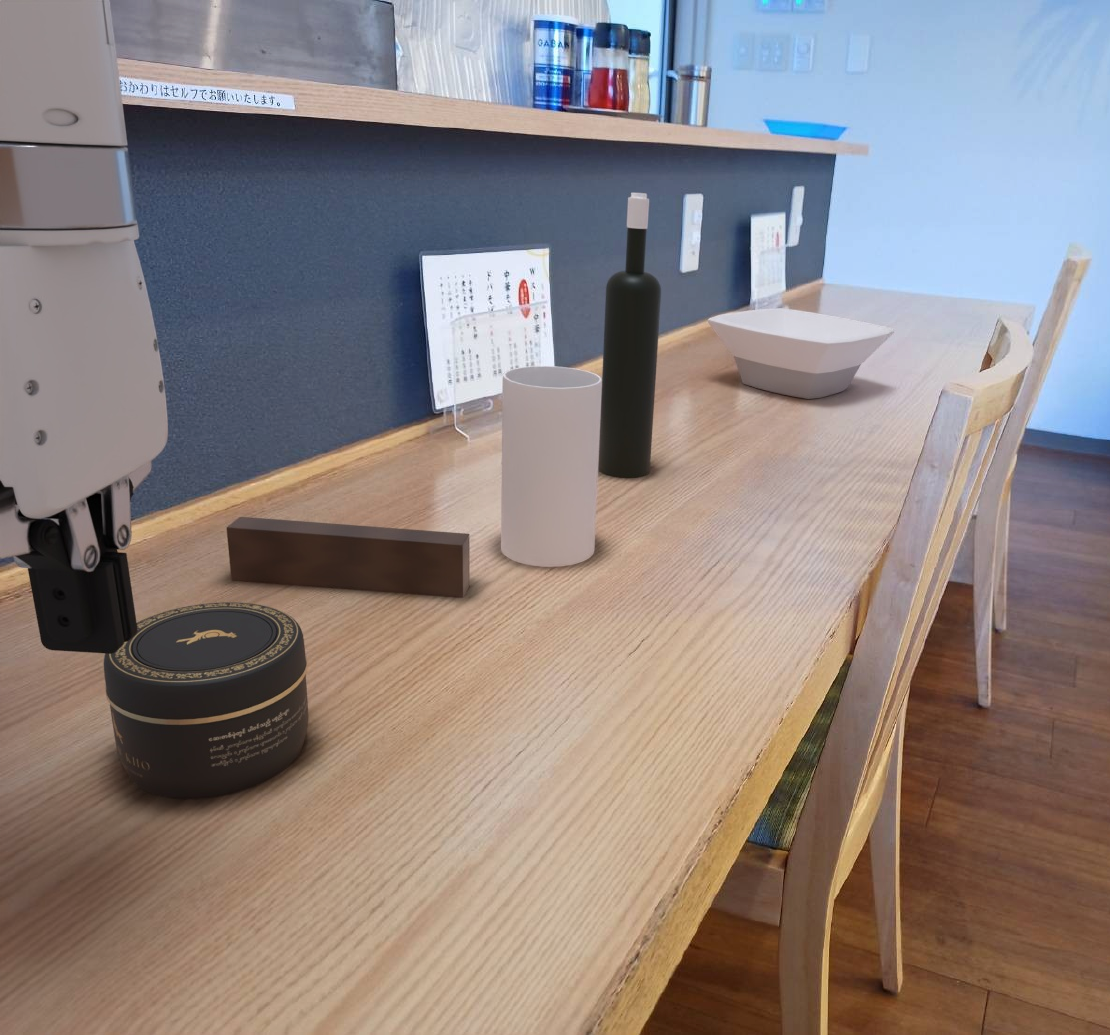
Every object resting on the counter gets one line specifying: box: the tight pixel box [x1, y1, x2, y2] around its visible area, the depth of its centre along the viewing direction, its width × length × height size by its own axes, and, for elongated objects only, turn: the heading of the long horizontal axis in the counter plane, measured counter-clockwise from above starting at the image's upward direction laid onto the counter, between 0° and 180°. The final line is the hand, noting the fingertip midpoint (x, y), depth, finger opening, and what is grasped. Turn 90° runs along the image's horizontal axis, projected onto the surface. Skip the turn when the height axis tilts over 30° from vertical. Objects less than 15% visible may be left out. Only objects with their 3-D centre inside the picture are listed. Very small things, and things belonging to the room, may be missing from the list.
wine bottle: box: [598, 191, 662, 479], centre depth 105 cm, size 6×6×30 cm
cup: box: [500, 365, 602, 568], centre depth 85 cm, size 8×8×16 cm
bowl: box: [707, 307, 895, 400], centre depth 157 cm, size 24×25×10 cm
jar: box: [103, 601, 309, 800], centre depth 55 cm, size 10×10×8 cm
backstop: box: [226, 516, 471, 599], centre depth 77 cm, size 18×2×5 cm, turn 89°
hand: (91, 642), depth 42 cm, fingers closed
